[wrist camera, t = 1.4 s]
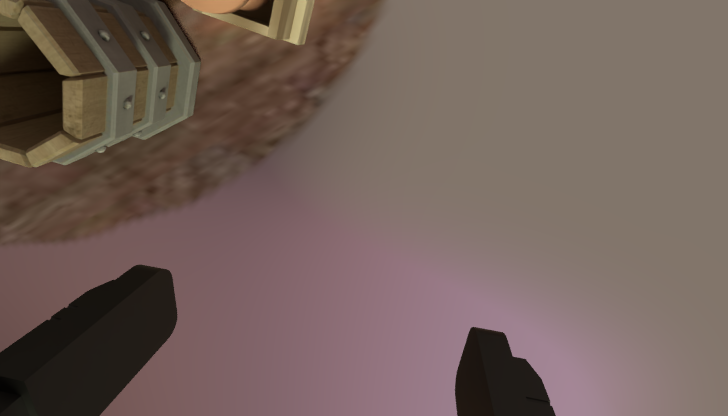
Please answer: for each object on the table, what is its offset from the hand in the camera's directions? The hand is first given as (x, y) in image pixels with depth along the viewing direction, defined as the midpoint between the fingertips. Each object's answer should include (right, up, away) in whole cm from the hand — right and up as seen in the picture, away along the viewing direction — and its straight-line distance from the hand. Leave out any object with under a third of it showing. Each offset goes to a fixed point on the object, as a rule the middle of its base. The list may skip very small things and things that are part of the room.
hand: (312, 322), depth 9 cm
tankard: (-24, +15, +24) cm, 38 cm away
